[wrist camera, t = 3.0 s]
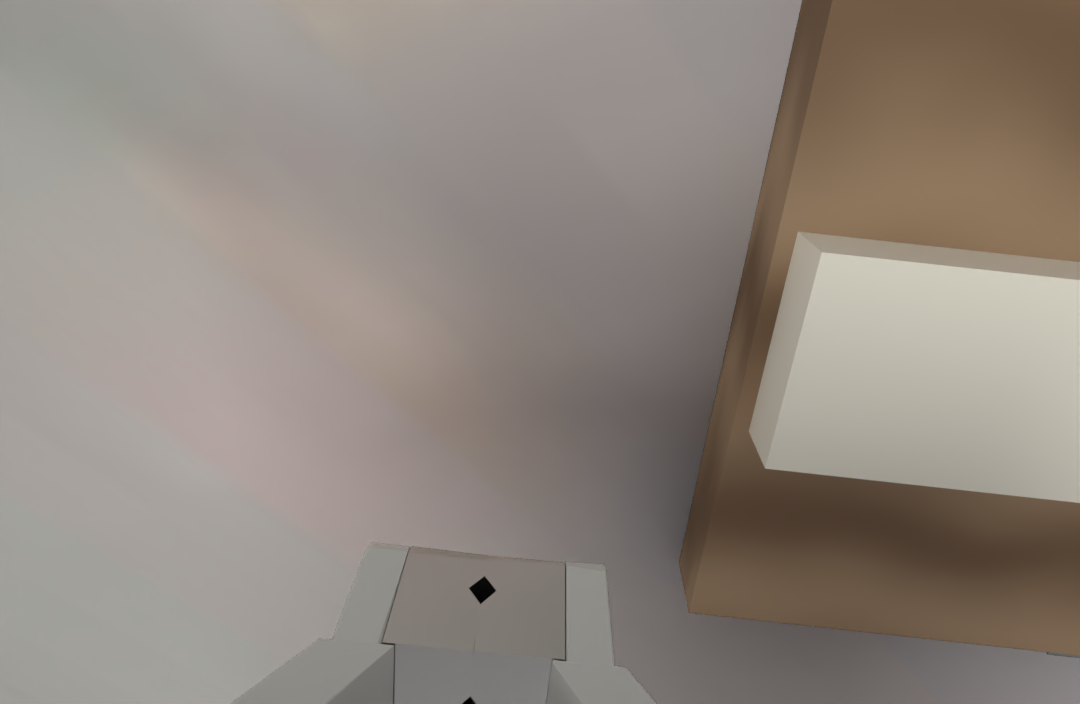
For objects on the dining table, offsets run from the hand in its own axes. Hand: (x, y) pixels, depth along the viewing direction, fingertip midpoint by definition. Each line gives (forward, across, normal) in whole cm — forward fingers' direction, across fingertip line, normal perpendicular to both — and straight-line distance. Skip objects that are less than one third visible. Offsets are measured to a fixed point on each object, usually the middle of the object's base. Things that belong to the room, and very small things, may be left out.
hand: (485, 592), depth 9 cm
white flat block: (+11, -11, 0) cm, 16 cm away
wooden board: (+14, -13, +1) cm, 19 cm away
